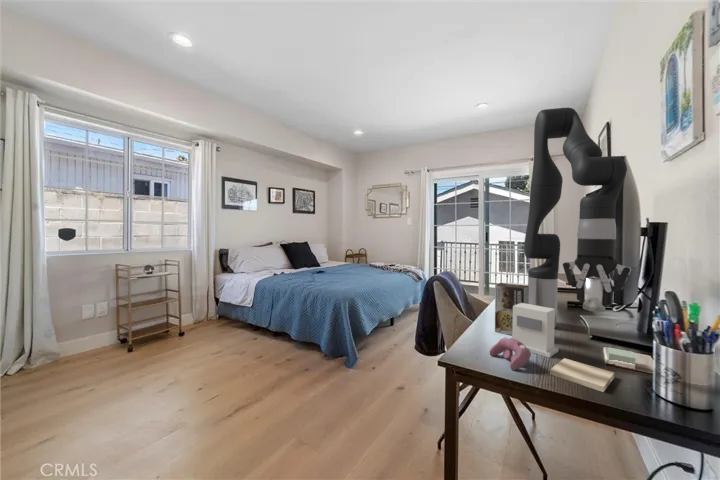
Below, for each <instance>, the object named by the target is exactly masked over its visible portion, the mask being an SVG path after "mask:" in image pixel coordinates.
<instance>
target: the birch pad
mask: <svg viewBox="0 0 720 480" xmlns="http://www.w3.org/2000/svg"><path fill="white" fill-rule="evenodd" d="M549 375H551V376H554V377H557V378H559V379H562V380H566V381H569V382H570V383H573V384H574V383H576V384H578V385H581V386H583V387H586V388H589V389H592V390H595V391H598V392H602V393H604V392H605V391H606V389H608V387H609V386H610V385H611V383H612V381H613V380H614V379H615V372H614V371H610V370H607V369H603V368H599V367H596V366H592V365H590V364H586V363H582V362H579V361H574V360H572V359H569V358H565V357H563V359H561V360H560V361H559V362H558V363H556V364H555V365H554V366H553V367H551V368H550V369H549Z"/></svg>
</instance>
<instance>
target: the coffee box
mask: <svg viewBox="0 0 720 480" xmlns="http://www.w3.org/2000/svg"><path fill="white" fill-rule="evenodd" d="M528 294H529V286H528V284H527V285H525V284H518V283H517V284H515V283H507V282H506V283H505V282H499V283H497V284H495V285H494V333H500V334H505V335H509V336H512V328H513V306H514V305H517V304H520V303H525V304H528Z"/></svg>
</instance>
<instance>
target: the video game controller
mask: <svg viewBox="0 0 720 480" xmlns="http://www.w3.org/2000/svg"><path fill="white" fill-rule="evenodd" d="M513 352H514V353H513ZM500 354H502V356H503V358H504V359H506V360H510V361H511V362H510V364H509V368H510V369H511V370H513V371H516V370H519V369H521V368H522V367H523V366H524V365H525V364H526V363H527V362H529V360H530V359H531V356H532V352H530V350H529V349H527V348H526V346H525V345H524V344H523V343H521V342H520V341H518V340H515V339H513V338H512V337H511V338H510V337H506V336H504V337H503V338H500V339H499V341H497V342H496V343H495V344H494V345H492V346H491V348H490V349H489V355H490V356H491V357H495V356H499V355H500Z"/></svg>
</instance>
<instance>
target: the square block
mask: <svg viewBox="0 0 720 480" xmlns="http://www.w3.org/2000/svg"><path fill="white" fill-rule="evenodd" d="M608 356H609V360H618V361H623V362H627V363H632V364H635V365H636V360H637V359H636V357H635V352H633V351H629V350H625V349H624V350H622V349H619V348H614V347H607V357H608Z"/></svg>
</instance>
